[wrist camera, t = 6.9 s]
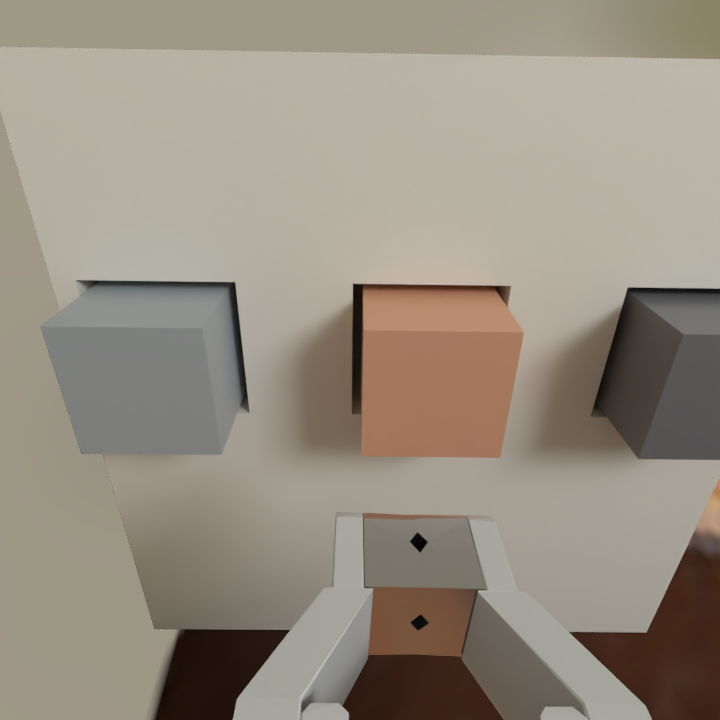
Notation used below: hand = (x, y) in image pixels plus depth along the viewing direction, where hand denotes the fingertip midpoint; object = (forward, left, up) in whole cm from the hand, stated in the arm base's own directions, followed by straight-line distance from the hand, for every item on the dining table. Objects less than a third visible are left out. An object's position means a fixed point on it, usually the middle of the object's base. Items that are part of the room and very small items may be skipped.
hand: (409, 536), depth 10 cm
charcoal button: (+6, -9, -2) cm, 11 cm away
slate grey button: (+6, +7, -2) cm, 10 cm away
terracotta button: (+6, -1, -2) cm, 7 cm away
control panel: (+9, -1, -14) cm, 17 cm away
